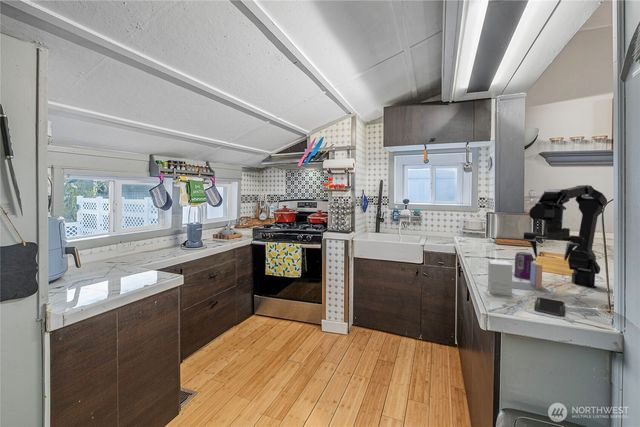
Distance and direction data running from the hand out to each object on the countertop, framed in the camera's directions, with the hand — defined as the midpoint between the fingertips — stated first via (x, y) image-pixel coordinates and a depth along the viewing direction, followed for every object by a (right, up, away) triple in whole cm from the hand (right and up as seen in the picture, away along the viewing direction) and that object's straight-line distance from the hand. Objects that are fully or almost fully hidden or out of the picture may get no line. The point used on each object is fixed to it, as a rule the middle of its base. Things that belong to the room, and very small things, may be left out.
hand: (550, 258), depth 114 cm
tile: (-2, -13, +5) cm, 14 cm away
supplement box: (-22, -14, -1) cm, 26 cm away
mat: (-6, -13, +6) cm, 16 cm away
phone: (-13, -15, -16) cm, 25 cm away
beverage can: (+3, -13, +20) cm, 24 cm away
